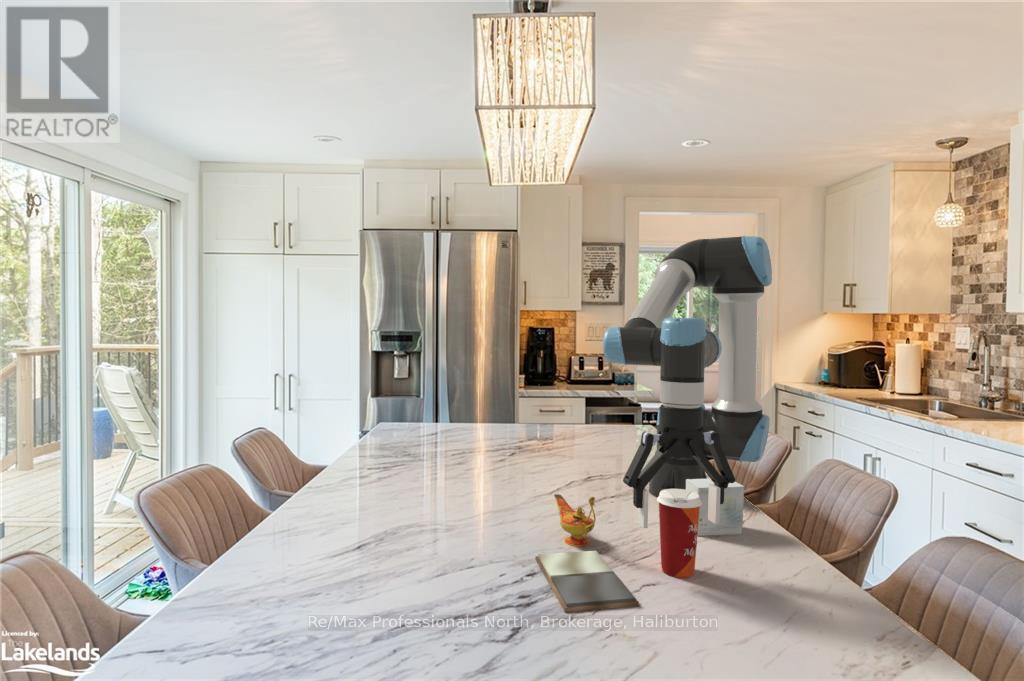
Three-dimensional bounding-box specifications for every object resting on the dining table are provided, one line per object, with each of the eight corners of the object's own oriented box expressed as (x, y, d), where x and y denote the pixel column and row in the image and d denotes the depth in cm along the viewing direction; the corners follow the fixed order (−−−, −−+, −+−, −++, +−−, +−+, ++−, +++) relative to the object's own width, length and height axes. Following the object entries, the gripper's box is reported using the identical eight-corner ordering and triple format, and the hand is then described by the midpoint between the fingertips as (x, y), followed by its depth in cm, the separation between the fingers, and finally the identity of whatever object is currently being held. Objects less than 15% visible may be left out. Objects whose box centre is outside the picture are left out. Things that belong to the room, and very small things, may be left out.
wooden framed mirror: (597, 555, 113) (597, 549, 113) (638, 605, 93) (638, 598, 93) (535, 559, 111) (535, 553, 110) (564, 612, 91) (564, 605, 91)
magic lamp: (569, 522, 131) (570, 472, 130) (610, 553, 114) (611, 496, 114) (540, 525, 128) (541, 475, 128) (578, 557, 112) (579, 499, 111)
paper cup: (702, 582, 102) (704, 501, 101) (656, 578, 103) (658, 498, 103) (697, 564, 109) (699, 488, 109) (654, 560, 111) (656, 486, 110)
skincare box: (697, 537, 123) (698, 487, 123) (683, 526, 129) (684, 478, 129) (743, 534, 125) (745, 485, 124) (728, 524, 131) (729, 477, 131)
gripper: (734, 401, 111) (731, 513, 112) (606, 402, 106) (604, 519, 107) (757, 407, 104) (754, 527, 104) (622, 408, 99) (619, 534, 100)
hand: (678, 523), depth 106 cm, fingers open, 13 cm apart
